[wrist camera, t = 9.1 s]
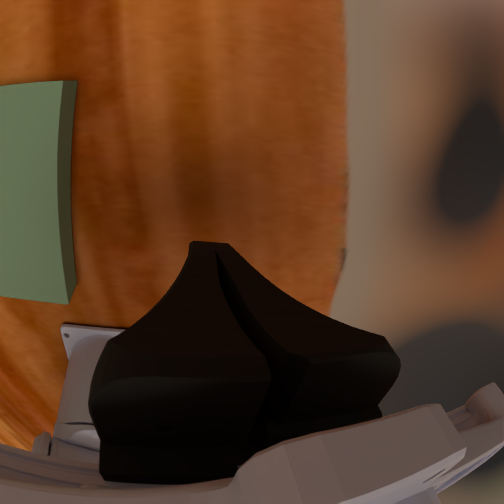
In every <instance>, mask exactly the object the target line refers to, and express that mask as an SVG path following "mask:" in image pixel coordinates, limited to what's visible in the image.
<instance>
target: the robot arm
mask: <svg viewBox="0 0 504 504" xmlns="http://www.w3.org/2000/svg"><path fill="white" fill-rule="evenodd" d="M60 330H61V334H62V338H63V342H64V346H65V350H66V353H67V357H68V360H69V363H68V367H67V372H66V376H65V381H64V385H63V390H62V395H61V400H60V405H59V410H58V416H57V422H55V426H54V433H53V438H51V434H50V433H48V432H46V431H43V432H42V434H40V435H38V436H36V437H35V440H34V444H33V449H32V452H31V451H26V450H23V449H19V448H15V447H11V446H8V445H4V444H1V443H0V504H441V502H440V500H439V498H438V496H437V493H439V492H441V491H442V490H444V489H446V488H447V487H449V486H450V485H452V484H454V483H455V482H456V481H458V480H459V479H461V478H463V477H464V476H466V475H467V474H468V473H470V472H471V471H473V470H474V469H476V468H477V467H478V466H480V465H481V464H482V463H484V462H485V461H486V460H488V459H489V458H490V457H491V456H492V455H493V454H495V453H496V452H497V451H498V450H499V449H501V448H502V447H503V446H504V395H503V393H502V392H501V390H500V389H499V388H498V387H497V385H496V384H495V383H491V384H489V385H487V386H485V387H483V388H481V389H479V390H478V391H477V392H475V393H474V394H473V395H472V396H471V397H470V399H469V400H468V401H467V402H466V405H463V406H461V407H459V408H457V409H455V410H452V411H450V412H448V413H445V411H444V410H443V408H442V407H441V405H440V404H429V405H421V406H418V407H415V408H412V409H409V410H405V411H402V412H399V413H396V414H392V415H389V416H385V417H382V413H381V411H380V409H379V407H378V404H379V403H380V401H381V400H382V399H383V398H384V396H385V395H386V394H387V392H388V391H389V390H390V388H391V387H392V385H393V384H394V382H395V381H396V379H397V377H398V374H399V371H400V367H401V363H400V359H399V357H398V356H397V355H396V353H395V352H394V350H393V348H392V347H391V346H390V344H389V343H388V341H387V340H386V338H385V337H384V336H381V335H377V334H374V333H370V332H368V331H364V330H361V329H358V328H355V327H352V326H349V325H347V324H344V323H342V322H339V321H337V320H334V319H332V318H330V317H327V316H325V315H323V314H321V313H319V312H317V311H315V310H313V309H311V308H309V307H308V306H306V305H304V304H302V303H300V302H299V301H297V300H296V299H294V298H292V297H291V296H289V295H288V294H286V293H285V292H283V291H282V290H280V289H279V288H278V287H276V286H275V285H274V284H272V283H271V282H270V281H269V280H267V279H266V278H265V277H264V276H263V275H261V274H260V273H259V272H258V271H257V270H256V269H254V268H253V267H252V266H251V265H250V264H249V263H248V262H247V261H246V260H245V259H244V258H243V257H242V256H241V255H240V254H239V253H238V252H237V251H236V250H235V249H234V248H233V247H231V246H230V245H229V244H228V243H216V242H203V241H192V242H191V243H190V244H189V253H188V257H187V259H186V261H185V264H184V266H183V268H182V270H181V272H180V273H179V275H178V277H177V278H176V280H175V282H174V283H173V285H172V286H171V287H170V289H169V290H168V291H167V293H166V294H165V295H164V296H163V297H162V299H161V300H160V301H159V302H158V303H157V304H156V305H155V306H154V307H153V308H152V309H151V310H150V311H149V312H148V313H147V314H146V315H144V316H143V317H142V318H141V319H139V320H138V321H137V322H136V323H135V324H133V325H132V326H131V327H129V328H128V329H126V330H124V329H112V328H100V327H90V326H80V325H71V324H63V325H62V326H61V328H60ZM66 333H67V334H66ZM68 334H69V335H68ZM381 417H382V418H381Z"/></svg>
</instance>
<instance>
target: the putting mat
mask: <svg viewBox="0 0 504 504" xmlns="http://www.w3.org/2000/svg"><path fill="white" fill-rule="evenodd" d="M77 82H78V81H48V82H34V83H23V84H13V85H5V86H0V296H4V297H11V298H18V299H26V300H34V301H42V302H50V303H59V304H69V302H70V300H71V297H72V294H73V292H74V289H75V287H76V284H77V281H76V272H75V262H74V252H73V239H72V221H71V147H72V130H73V117H74V107H75V98H76V89H77Z"/></svg>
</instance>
